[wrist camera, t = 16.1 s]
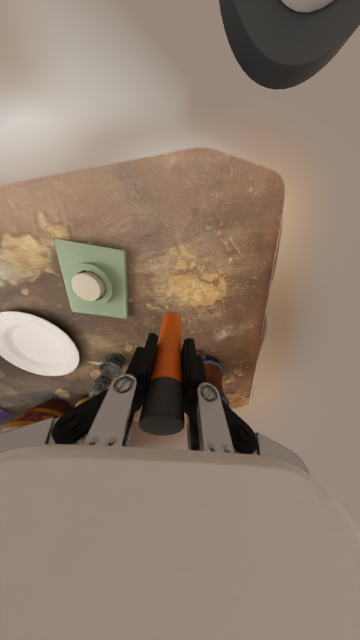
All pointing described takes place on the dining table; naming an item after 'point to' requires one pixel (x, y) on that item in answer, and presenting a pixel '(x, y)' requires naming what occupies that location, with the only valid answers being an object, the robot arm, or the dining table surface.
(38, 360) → the plate
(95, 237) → the dining table surface
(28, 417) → the jug
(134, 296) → the dining table surface
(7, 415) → the cereal box
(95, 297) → the circle pad
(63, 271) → the push button block
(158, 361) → the marker
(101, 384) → the chess piece
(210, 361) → the mug
